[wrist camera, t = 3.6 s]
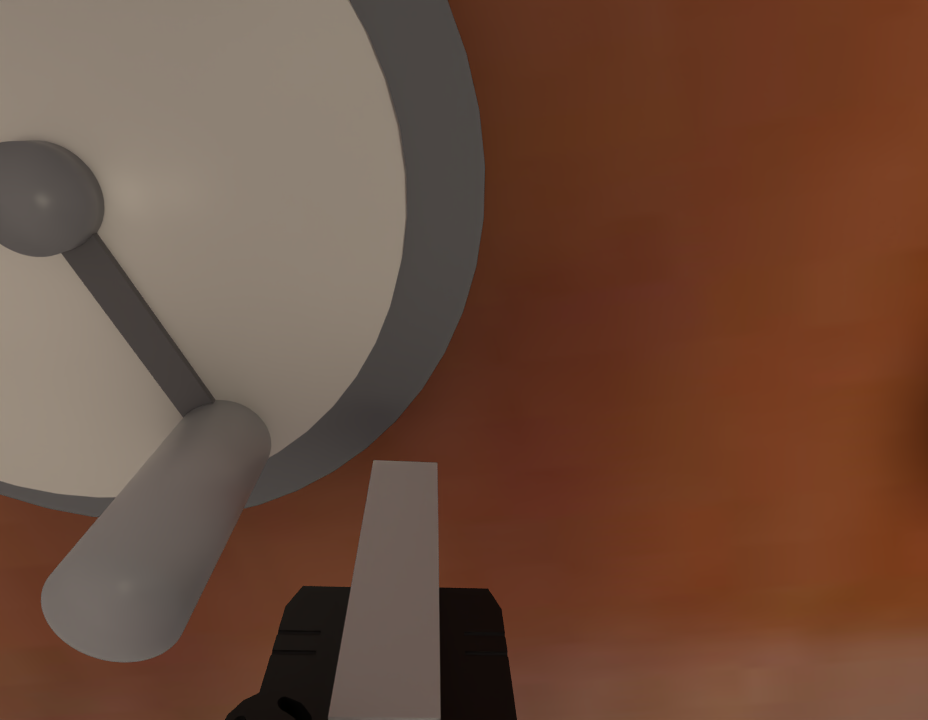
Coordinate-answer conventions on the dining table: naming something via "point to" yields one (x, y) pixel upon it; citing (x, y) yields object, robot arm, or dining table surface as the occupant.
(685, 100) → the dining table surface
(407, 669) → the robot arm
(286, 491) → the stand base
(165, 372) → the cream crank wheel
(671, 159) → the dining table surface
